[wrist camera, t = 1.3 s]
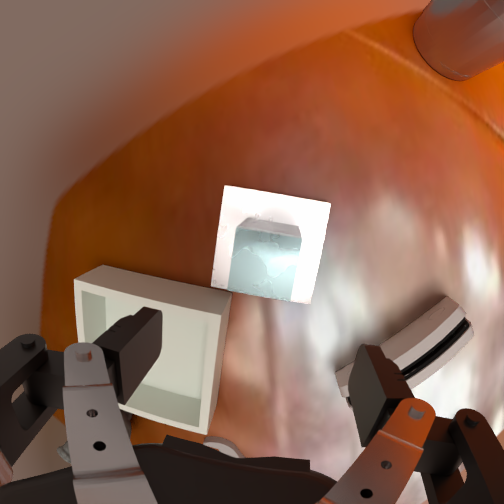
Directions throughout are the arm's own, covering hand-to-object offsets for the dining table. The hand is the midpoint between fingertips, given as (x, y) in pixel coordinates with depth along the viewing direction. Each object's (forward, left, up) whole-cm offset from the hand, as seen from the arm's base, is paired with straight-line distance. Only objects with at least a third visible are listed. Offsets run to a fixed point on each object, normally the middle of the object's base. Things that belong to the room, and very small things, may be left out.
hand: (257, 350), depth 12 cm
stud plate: (0, -1, -20) cm, 20 cm away
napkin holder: (+9, +16, -21) cm, 28 cm away
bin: (+14, -12, -20) cm, 27 cm away
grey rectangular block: (0, -1, -18) cm, 18 cm away
